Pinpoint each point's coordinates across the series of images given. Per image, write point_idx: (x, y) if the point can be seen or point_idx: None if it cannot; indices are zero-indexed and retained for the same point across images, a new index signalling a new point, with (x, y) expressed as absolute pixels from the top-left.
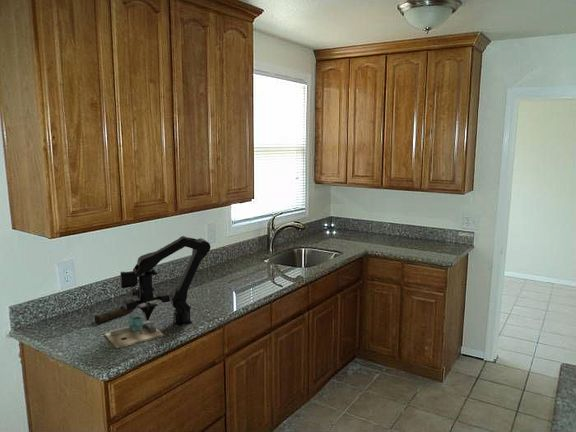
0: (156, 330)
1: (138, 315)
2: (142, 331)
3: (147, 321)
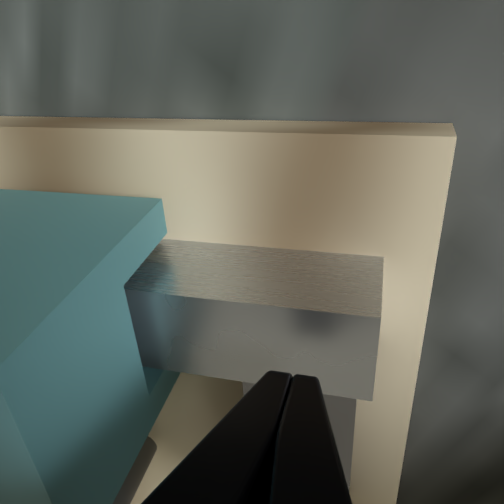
0: (368, 477)
1: (10, 418)
2: (184, 385)
3: (322, 321)
